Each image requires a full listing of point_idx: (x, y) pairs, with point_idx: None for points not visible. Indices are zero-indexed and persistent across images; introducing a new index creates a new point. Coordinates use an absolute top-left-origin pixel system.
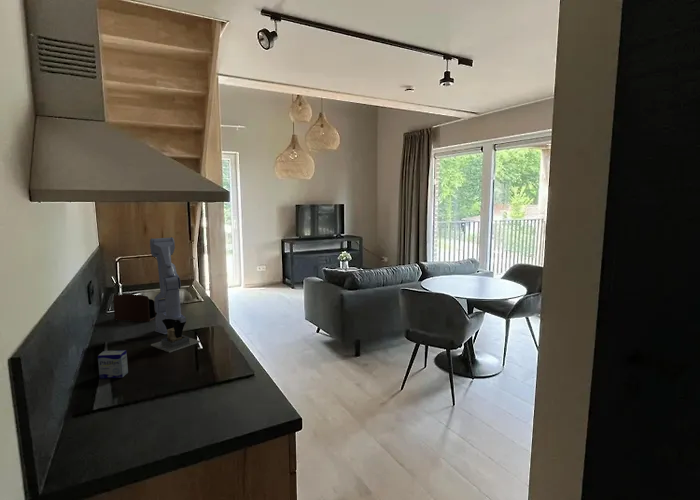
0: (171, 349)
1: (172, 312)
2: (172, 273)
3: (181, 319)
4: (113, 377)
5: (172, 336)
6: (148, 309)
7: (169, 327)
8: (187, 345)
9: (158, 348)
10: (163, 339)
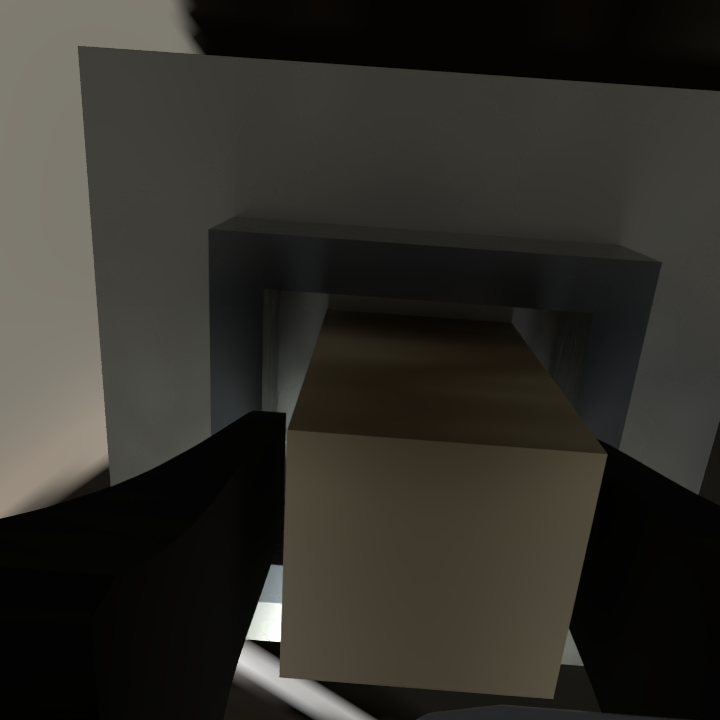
0: (134, 133)
1: None
2: None
3: None
4: None
5: (326, 368)
6: None
7: (640, 574)
8: (110, 424)
9: (496, 79)
10: (583, 271)
